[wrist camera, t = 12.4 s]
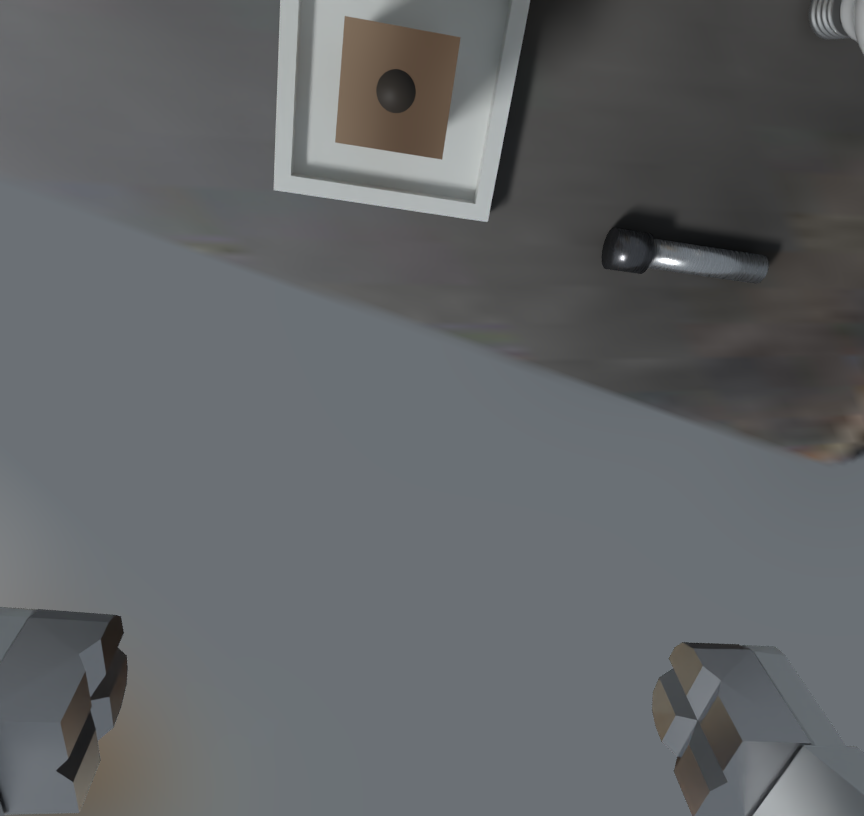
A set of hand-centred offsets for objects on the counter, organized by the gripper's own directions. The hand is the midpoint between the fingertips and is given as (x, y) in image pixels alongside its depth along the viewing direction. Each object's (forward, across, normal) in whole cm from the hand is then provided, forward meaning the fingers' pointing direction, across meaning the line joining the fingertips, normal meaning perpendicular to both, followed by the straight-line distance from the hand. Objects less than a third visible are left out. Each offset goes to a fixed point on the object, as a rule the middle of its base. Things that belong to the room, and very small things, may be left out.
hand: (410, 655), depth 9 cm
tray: (+28, 0, -6) cm, 29 cm away
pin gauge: (+28, -17, 0) cm, 32 cm away
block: (+28, 0, -6) cm, 28 cm away
